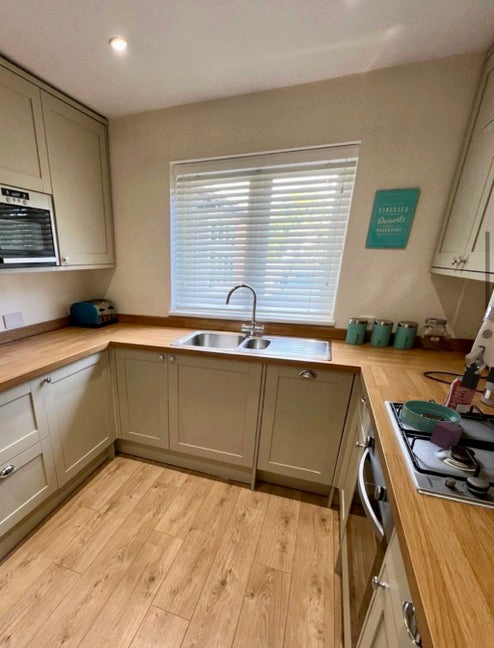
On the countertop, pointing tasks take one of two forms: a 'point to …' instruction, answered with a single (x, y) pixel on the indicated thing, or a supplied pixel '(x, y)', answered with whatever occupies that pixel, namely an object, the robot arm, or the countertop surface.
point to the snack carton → (446, 435)
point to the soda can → (459, 396)
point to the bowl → (414, 419)
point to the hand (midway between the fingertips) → (480, 385)
